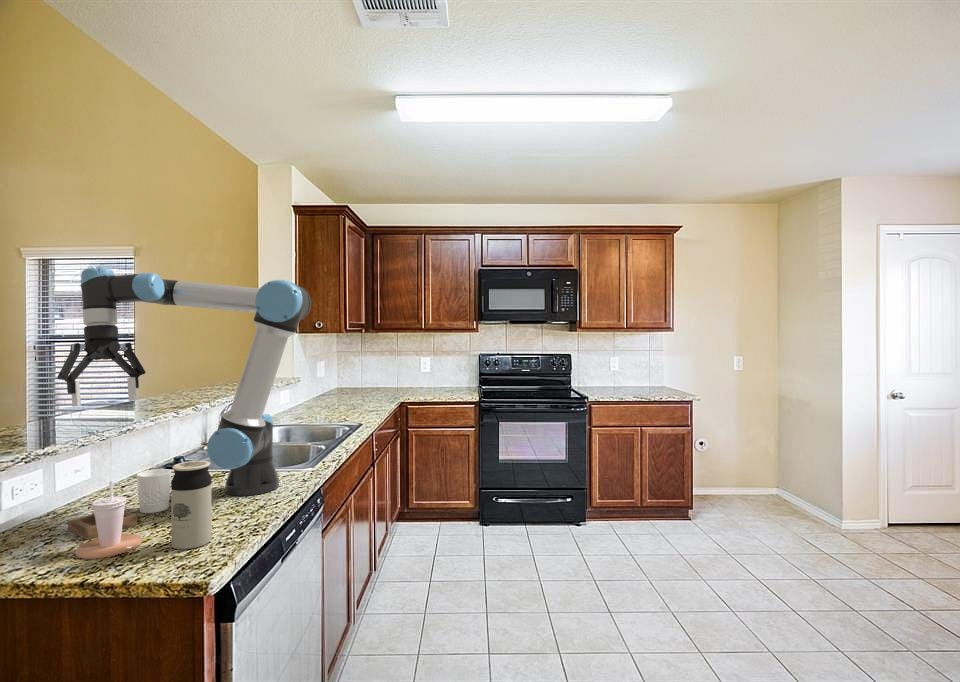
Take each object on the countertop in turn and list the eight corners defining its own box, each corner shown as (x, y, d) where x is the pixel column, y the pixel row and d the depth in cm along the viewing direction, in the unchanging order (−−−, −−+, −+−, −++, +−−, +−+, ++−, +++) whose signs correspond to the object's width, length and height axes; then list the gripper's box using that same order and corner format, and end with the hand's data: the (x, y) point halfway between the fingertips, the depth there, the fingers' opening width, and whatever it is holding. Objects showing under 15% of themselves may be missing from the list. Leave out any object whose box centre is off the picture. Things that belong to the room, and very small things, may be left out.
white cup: (177, 507, 142) (177, 471, 142) (146, 516, 135) (146, 478, 135) (161, 502, 146) (161, 467, 146) (131, 511, 139) (130, 474, 139)
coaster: (151, 535, 122) (151, 532, 122) (125, 557, 110) (125, 553, 110) (95, 538, 120) (95, 535, 120) (62, 561, 108) (62, 557, 108)
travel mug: (194, 534, 123) (194, 459, 123) (219, 539, 120) (219, 462, 120) (163, 547, 116) (162, 466, 116) (189, 552, 113) (188, 470, 113)
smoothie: (109, 550, 112) (107, 486, 111) (84, 548, 113) (83, 484, 113) (134, 539, 118) (133, 477, 118) (111, 537, 119) (110, 476, 119)
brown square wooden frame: (116, 517, 134) (116, 508, 134) (137, 525, 129) (136, 515, 129) (68, 530, 125) (68, 520, 125) (88, 539, 120) (88, 528, 120)
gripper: (141, 328, 154) (146, 399, 153) (38, 326, 133) (43, 409, 132) (155, 324, 151) (160, 397, 150) (52, 322, 129) (57, 408, 128)
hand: (105, 403), depth 141 cm, fingers open, 13 cm apart
